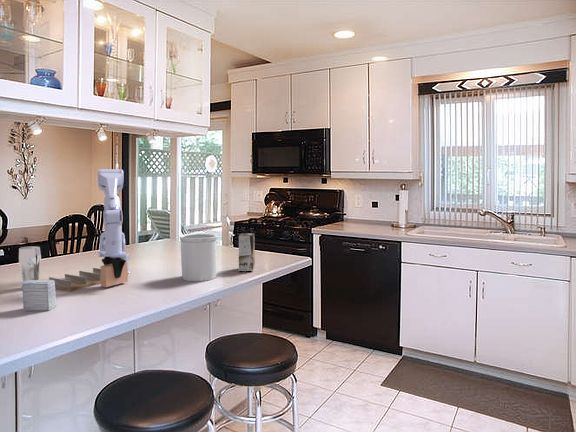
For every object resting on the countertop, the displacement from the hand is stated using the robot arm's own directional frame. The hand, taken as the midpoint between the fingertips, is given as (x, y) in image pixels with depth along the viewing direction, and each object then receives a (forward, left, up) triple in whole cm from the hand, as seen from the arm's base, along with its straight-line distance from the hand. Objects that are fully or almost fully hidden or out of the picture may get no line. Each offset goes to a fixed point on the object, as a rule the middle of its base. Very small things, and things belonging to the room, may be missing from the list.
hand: (114, 277), depth 162 cm
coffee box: (-48, +28, -4) cm, 56 cm away
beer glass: (+17, -24, -3) cm, 30 cm away
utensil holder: (-26, +19, -4) cm, 32 cm away
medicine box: (+31, +3, -4) cm, 31 cm away
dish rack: (+3, -14, -3) cm, 15 cm away
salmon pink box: (0, 0, -2) cm, 2 cm away
